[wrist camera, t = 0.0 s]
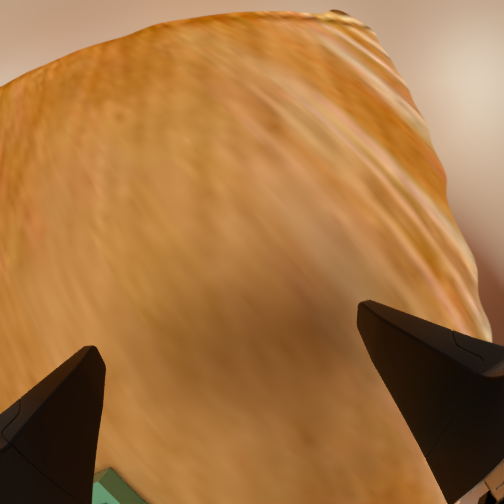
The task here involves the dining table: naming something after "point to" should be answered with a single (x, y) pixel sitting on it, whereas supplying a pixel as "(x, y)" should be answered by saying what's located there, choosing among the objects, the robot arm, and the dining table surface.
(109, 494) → the board
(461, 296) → the dining table surface
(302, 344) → the dining table surface
